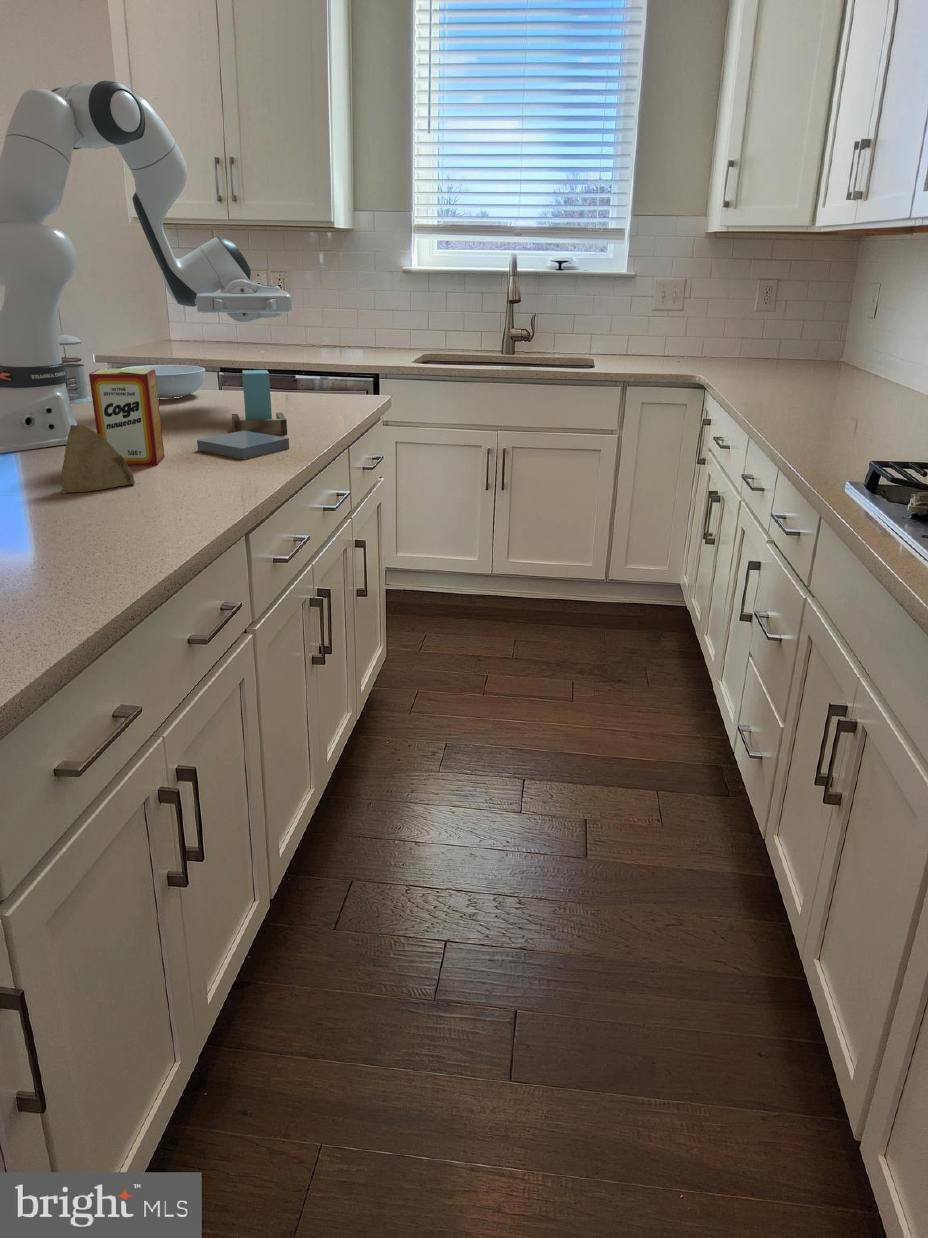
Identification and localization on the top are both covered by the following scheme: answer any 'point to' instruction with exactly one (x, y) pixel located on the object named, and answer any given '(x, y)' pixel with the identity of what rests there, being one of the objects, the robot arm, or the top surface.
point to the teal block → (257, 394)
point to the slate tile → (243, 444)
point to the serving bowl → (176, 379)
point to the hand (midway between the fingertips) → (246, 305)
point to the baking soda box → (129, 413)
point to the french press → (74, 372)
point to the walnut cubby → (261, 425)
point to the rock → (92, 463)
